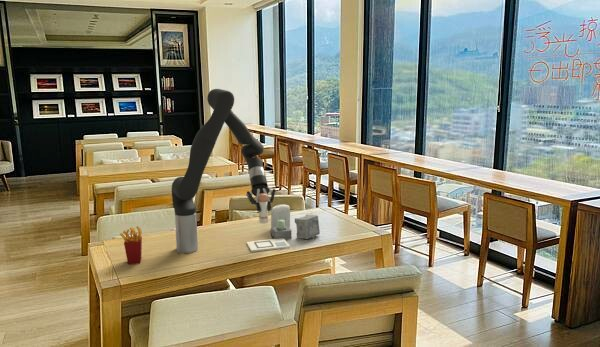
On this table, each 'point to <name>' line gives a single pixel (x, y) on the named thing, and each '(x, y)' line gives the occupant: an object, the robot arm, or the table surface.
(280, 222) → the button
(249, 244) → the sheet
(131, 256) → the french fries
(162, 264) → the table surface
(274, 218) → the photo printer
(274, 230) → the button housing
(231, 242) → the table surface
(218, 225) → the table surface
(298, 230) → the grey stone block
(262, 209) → the marker
